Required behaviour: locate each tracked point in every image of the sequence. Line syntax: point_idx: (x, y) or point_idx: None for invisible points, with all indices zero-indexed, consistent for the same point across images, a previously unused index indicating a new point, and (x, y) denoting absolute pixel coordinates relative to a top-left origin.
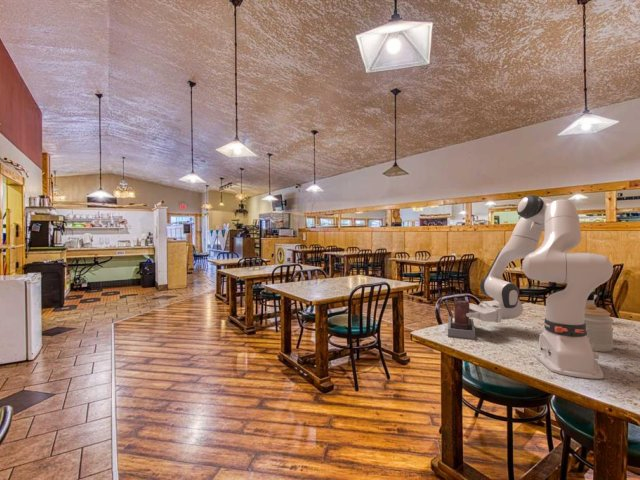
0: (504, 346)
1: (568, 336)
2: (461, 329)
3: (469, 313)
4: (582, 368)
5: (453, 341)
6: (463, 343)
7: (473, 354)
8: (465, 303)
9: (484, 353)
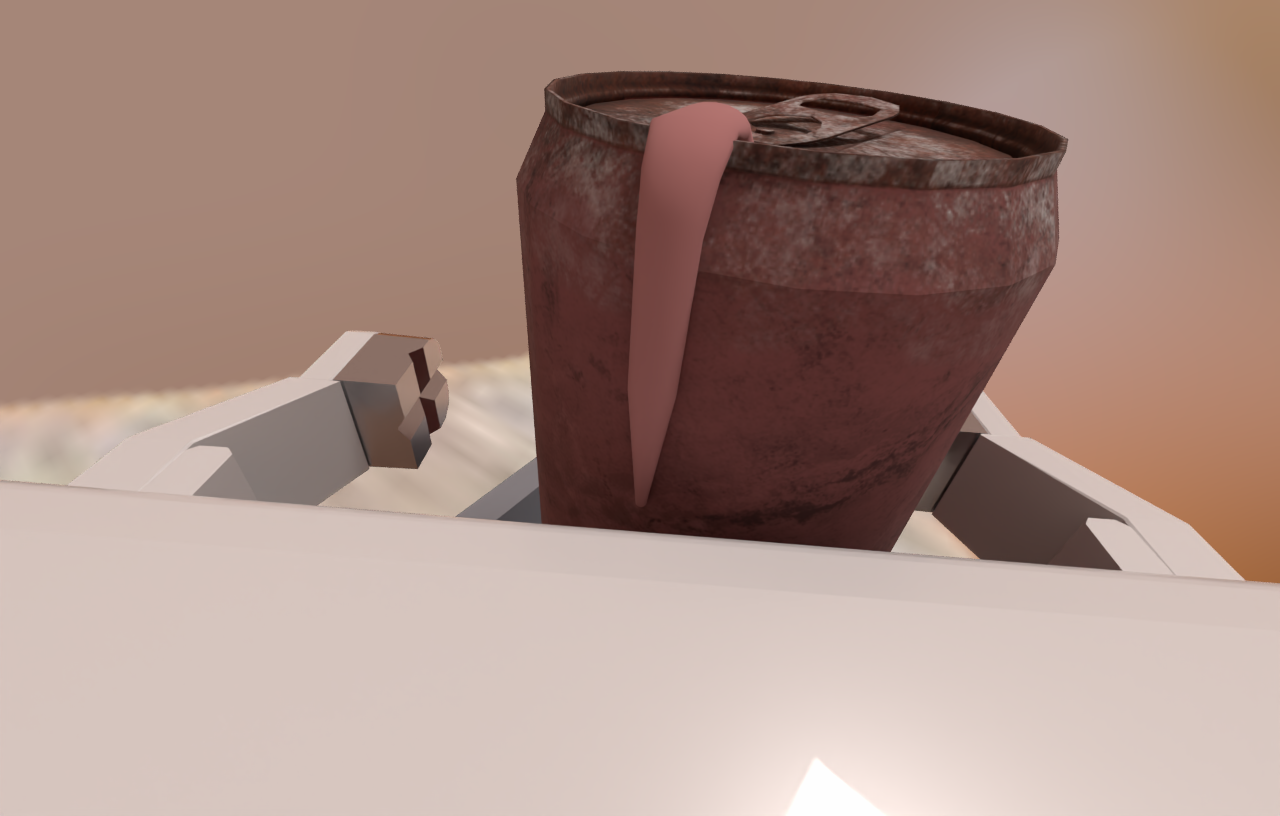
0: None
1: None
2: (506, 510)
3: (336, 341)
4: None
5: (459, 444)
6: (359, 482)
7: (140, 402)
8: (541, 127)
9: (40, 477)
